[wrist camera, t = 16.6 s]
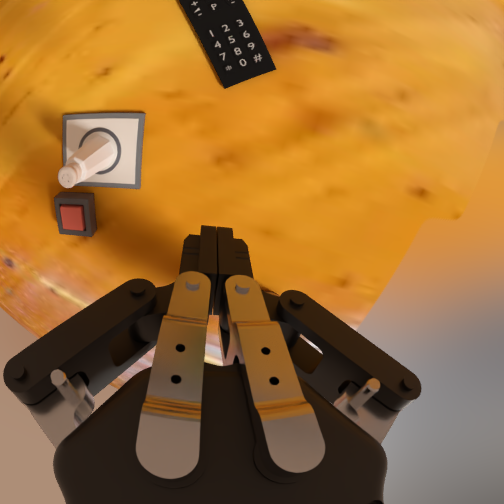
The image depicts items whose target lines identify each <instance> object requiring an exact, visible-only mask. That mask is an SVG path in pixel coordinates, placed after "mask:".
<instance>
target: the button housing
mask: <svg viewBox="0 0 504 504" xmlns="http://www.w3.org/2000/svg"><path fill="white" fill-rule="evenodd" d="M54 203H55V210H56V216H57V222H58V228H59V233H60V234H67V235H78V236H89V237H92V236H93V235H94V233H95V231H96V230H97V226H96V216H95V204H94V193H77V192H60V193H59V194H58V195H57V196H55V197H54ZM63 204H76V205H83V206H84V215H85V224H86V227H85V229H84V230H83V231H80V230H69V229H63V224H62V218H61V211H60V207H61V206H62V205H63Z"/></svg>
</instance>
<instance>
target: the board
mask: <svg viewBox="0 0 504 504" xmlns="http://www.w3.org/2000/svg"><path fill="white" fill-rule="evenodd" d="M144 122H145V113H86V114H69V115H63V166H65V165H66V161H67V160H68V159H69V158H70V157H71V156H72V155H73V154H74V153H75V152H76V151H77V150H78V149H79V148H81V147H82V146H83V145H84V144H85V143H86V142H87V141H89V140H91V139H93V138H95V137H97V136H101V137H103V138H105V139H107V140H109V141H110V142H111V145H112V148H113V151H114V155H113V157H112V160H111V162H110V165H108V166H107V167H105V168H103V169H102V170H100V171H99V172H97V173H95V174H94V175H92V176H91V177H89V178H87V179H86V180H84V181H82V182H79V183H77V184H75V185H74V186H95V187H114V188H130V189H140V188H141V162H142V146H143V133H144Z"/></svg>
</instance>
